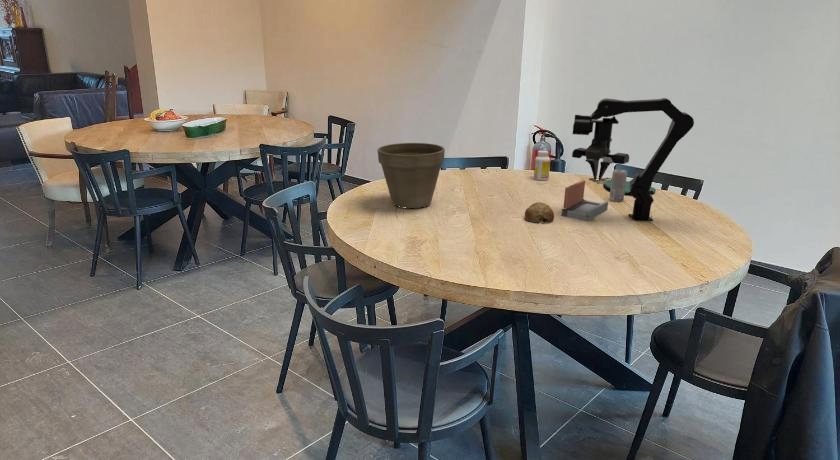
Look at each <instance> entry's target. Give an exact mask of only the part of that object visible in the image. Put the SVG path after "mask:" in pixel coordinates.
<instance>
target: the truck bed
mask: <svg viewBox="0 0 840 460" xmlns="http://www.w3.org/2000/svg"><path fill="white" fill-rule="evenodd" d="M608 205H609V201H607V200H605V201H603V202H597V201H590V200H586V204H584V205H582V206H580V207H578V208H577V209H575V210H573V211H567V218H572V219H577V220H582V221H586V222H589V221H591V220H593V219H594V218H596V217H597V216H599V215H601V214H603V213H605V212H606V211H607V210H608V209H609V208H608Z"/></svg>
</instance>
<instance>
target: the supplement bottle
mask: <svg viewBox="0 0 840 460" xmlns="http://www.w3.org/2000/svg"><path fill="white" fill-rule="evenodd" d="M550 166H551V159H550V157H549V151H548V150H538V151H537V156H536V157H535V159H534V171H533V179H534V180H536V181H541V182H542V181H548V180H549V179H550V177H549V176H550Z"/></svg>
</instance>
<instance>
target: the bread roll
mask: <svg viewBox="0 0 840 460" xmlns="http://www.w3.org/2000/svg"><path fill="white" fill-rule="evenodd" d="M524 218H525V219H526V221H528V220H529V221H528V222H530V221H531V223H534V222H535V224H539V223H541V224H547V223H552V222H553V221H554V219H555V212H554V210H553V209H552V207H550V205H549V204H547V203H544V202H540V201H538V202H534V203H532V204H531V205H529V206H528V207H527V208H525V211H524Z"/></svg>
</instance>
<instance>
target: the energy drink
mask: <svg viewBox="0 0 840 460" xmlns="http://www.w3.org/2000/svg"><path fill="white" fill-rule="evenodd" d="M611 175H612V176H611V178H612V182H611V189H609V190H610V192H609V198H608V199H609V200H610V201H611V202H617V203H621V202H623V201H624V198H625V185H626V181H627V178H628V177H627V176H628V172H627V170H626V169H619V168H618V169H617V168H616V169H613V171H612V174H611Z"/></svg>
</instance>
